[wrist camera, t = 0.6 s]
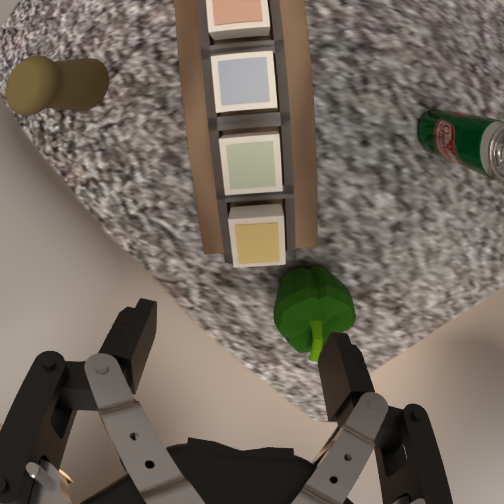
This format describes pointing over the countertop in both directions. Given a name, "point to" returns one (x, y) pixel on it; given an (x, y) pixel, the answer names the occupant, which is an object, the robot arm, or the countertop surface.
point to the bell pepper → (312, 308)
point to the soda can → (465, 140)
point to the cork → (56, 85)
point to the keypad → (250, 122)
